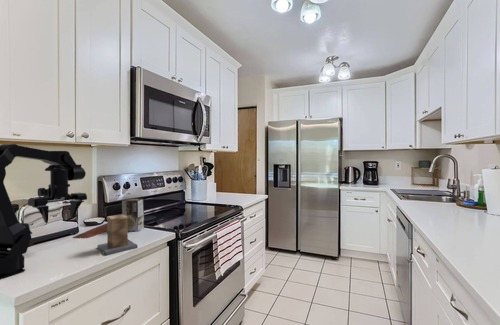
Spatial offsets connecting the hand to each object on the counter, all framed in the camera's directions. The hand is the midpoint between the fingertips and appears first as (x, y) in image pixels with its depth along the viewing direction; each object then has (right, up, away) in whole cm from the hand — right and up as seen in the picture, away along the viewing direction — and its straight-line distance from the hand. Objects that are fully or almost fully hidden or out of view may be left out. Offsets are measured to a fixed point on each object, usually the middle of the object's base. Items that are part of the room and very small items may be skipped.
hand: (59, 220), depth 101 cm
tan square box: (+21, -12, +5) cm, 24 cm away
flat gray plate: (+21, -13, +5) cm, 25 cm away
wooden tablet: (-3, -13, +31) cm, 34 cm away
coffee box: (+14, -13, +33) cm, 38 cm away
